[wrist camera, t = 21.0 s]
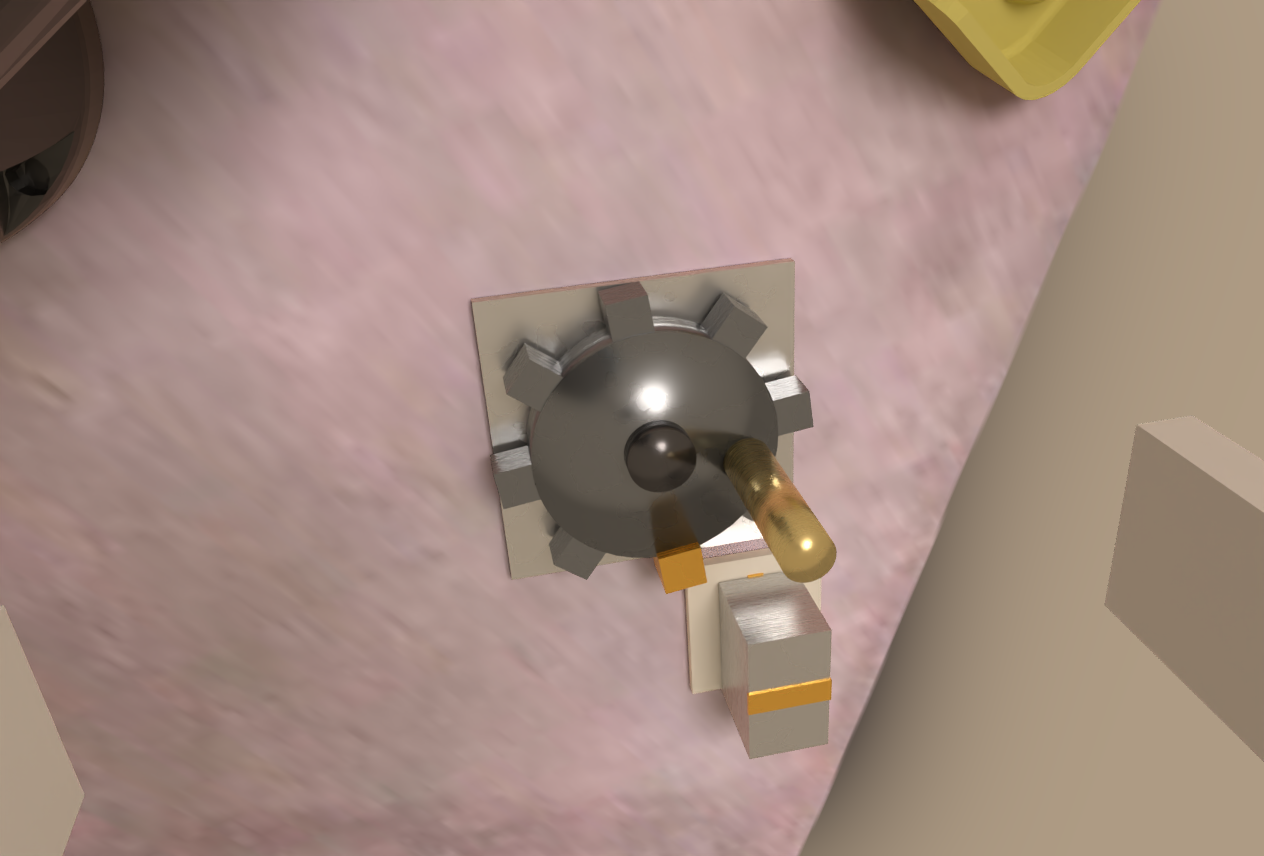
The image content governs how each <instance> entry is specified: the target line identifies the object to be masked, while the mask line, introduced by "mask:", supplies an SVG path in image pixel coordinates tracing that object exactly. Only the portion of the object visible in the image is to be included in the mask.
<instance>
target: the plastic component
mask: <svg viewBox="0 0 1264 856" xmlns="http://www.w3.org/2000/svg"><path fill="white" fill-rule="evenodd" d="M913 1H914V2H915V3H916V4H917V5H918V6H919V7H920V8H921V9H922V10H923V11H924V13H925V14H926V15H927V16H928V17H929V18H930V19H931V21H932V22H933V23H934V24H935V25H936V26H937V28H938V29H939V30H940V31H941V32H942V33H943V34H944V36H945V37H946V38H947V39H948V40H949V41H950V42H951V44H952V45H953V46H954V47H955V48H956V49H957V51H958V52H959V53H960V54H961V55H962V56H963V57H964V59H965V60H966V61H967V62H968V63H969V64H970V65H971V66H972V67H973V68H975V69H976V70H978V71H979V72H981V73H982V74H984V75H985V76H987V77H988V78H990V79H991V80H993V81H995V82H996V83H998V84H999V85H1001V86H1002V87H1004V88H1005V89H1007V90H1008V91H1010V92H1011V93H1013V94H1014V95H1016V96H1018V97H1020V98H1022V99H1024V100H1036V99H1039V98H1042V97H1046V96H1048V95H1049V94H1051V93H1053V92H1055V91H1057V90H1058V89H1059V88H1061V87H1062V86H1064V85H1065V84H1066V83H1067V82H1068V81H1069V80H1071V79H1072V78H1073V77H1074V76H1075V75H1076V74H1077V73H1078V72H1079V71H1080V70H1081V68H1082V67H1083V66H1084V65H1085V64H1086V63H1087V62H1088V60H1089V59H1090V58H1091V57H1092V56H1093V55H1094V54H1095V52H1096V51H1097V50H1098V49H1099V48H1100V47H1101V45H1102V44H1103V43H1104V42H1105V41H1106V40H1107V39H1108V37H1109V36H1110V35H1111V34H1112V33H1113V32H1114V31H1115V29H1116V28H1117V27H1118V26H1119V25H1120V24H1121V23H1122V21H1123V20H1124V19H1125V18H1126V17H1127V16H1128V15H1129V13H1130V12H1131V11H1132V10H1133V9H1134V8H1135V6H1136V5H1137V4H1138V3H1139V2H1140V1H1141V0H913Z"/></svg>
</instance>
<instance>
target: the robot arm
mask: <svg viewBox="0 0 1264 856" xmlns="http://www.w3.org/2000/svg"><path fill="white" fill-rule="evenodd" d="M103 92H104V66H103V56H102V48H101V42H100V36H99V32H98V28H97V24H96V19H95V16H94V13H93V10H92V6H91V3H90V0H0V243H2V242H4V241H5V240H7V239H9V238H10V237H12V236H14V235H15V234H16V233H18V232H19V231H21V230H22V229H23V228H25V227H26V226H27V225H29V224H30V223H31V222H32V221H34V220H35V219H36V218H37V217H39V216H40V215H41V214H42V213H43V212H45V211H46V210H47V209H48V208H49V207H50V206H52V205H53V204H54V203H55V202H56V201H57V200H58V199H59V198H60V196H61V195H62V194H63V193H64V192H65V191H66V189H67V188H68V187H69V186H70V185H71V183H72V182H73V180H74V179H75V177H76V176H77V174H78V173H79V171H80V170H81V168H82V166H83V164H84V162H85V160H86V159H87V156H88V154H89V152H90V149H91V147H92V145H93V142H94V139H95V136H96V133H97V129H98V125H99V121H100V117H101V110H102V103H103ZM1105 606H1106V607H1107V608H1108V609H1109V610H1110V611H1111V612H1112V613H1113V614H1114V615H1115V616H1116V617H1117V618H1118V619H1119V620H1121V622H1122V623H1123V624H1124V625H1125V626H1126V627H1127V628H1129V630H1130V631H1132V632H1133V634H1135V635H1136V636H1137V637H1138V638H1139V639H1140V640H1141V641H1142V642H1143V643H1144V644H1145V645H1146V646H1147V647H1148V648H1149V649H1150V650H1151V651H1152V652H1153V653H1154V654H1155V655H1156V656H1157V657H1158V658H1159V659H1160V660H1161V661H1162V662H1163V663H1164V664H1165V665H1166V666H1167V667H1168V668H1169V669H1170V670H1171V671H1172V672H1173V673H1174V674H1175V675H1176V676H1177V677H1178V678H1179V679H1180V680H1181V681H1182V682H1183V683H1184V684H1185V685H1186V686H1187V687H1188V688H1189V689H1190V690H1191V691H1192V692H1194V694H1195V695H1197V697H1198V698H1200V699H1201V700H1202V701H1203V702H1204V703H1205V704H1206V705H1207V706H1208V707H1209V708H1210V709H1211V710H1212V711H1213V712H1214V713H1215V714H1216V715H1217V716H1218V717H1219V718H1220V719H1221V720H1222V721H1223V722H1224V723H1225V724H1226V725H1227V726H1228V727H1229V728H1230V729H1231V730H1232V731H1233V732H1234V733H1235V734H1236V735H1237V736H1238V737H1239V738H1240V739H1241V740H1242V741H1243V742H1244V743H1245V744H1246V745H1247V746H1248V747H1249V748H1250V749H1251V750H1252V751H1253V752H1254V753H1255V754H1256V755H1257V756H1258V757H1259V758H1260V759H1261V760H1262V761H1263V762H1264V460H1262V459H1260V458H1259V457H1257V456H1256V455H1254V454H1252V453H1251V452H1249V451H1248V450H1246V449H1244V448H1243V447H1241V446H1240V445H1238V444H1237V443H1235V442H1233V441H1232V440H1230V439H1229V438H1227V437H1226V436H1224V435H1223V434H1221V433H1219V432H1218V431H1216V430H1214V429H1213V428H1211V427H1210V426H1208V425H1207V424H1205V423H1204V422H1202V421H1200V420H1199V419H1197V418H1196V417H1194V416H1186V417H1180V418H1173V419H1167V420H1161V421H1155V422H1148V423H1142V424H1137V426H1136V431H1135V437H1134V442H1133V448H1132V453H1131V459H1130V465H1129V470H1128V476H1127V481H1126V487H1125V493H1124V498H1123V504H1122V510H1121V515H1120V521H1119V526H1118V532H1117V538H1116V543H1115V549H1114V555H1113V560H1112V566H1111V572H1110V578H1109V583H1108V589H1107V594H1106V600H1105ZM84 796H85V795H84V792H83V790H82V788H81V785H80V783H79V781H78V778H77V776H76V774H75V771H74V769H73V766H72V764H71V762H70V759H69V757H68V755H67V752H66V750H65V748H64V745H63V743H62V741H61V738H60V736H59V734H58V731H57V729H56V726H55V724H54V722H53V719H52V717H51V715H50V712H49V710H48V708H47V705H46V703H45V701H44V698H43V696H42V694H41V691H40V689H39V686H38V684H37V682H36V679H35V677H34V675H33V672H32V670H31V668H30V665H29V663H28V661H27V658H26V656H25V654H24V651H23V649H22V646H21V644H20V642H19V639H18V637H17V635H16V632H15V630H14V628H13V625H12V623H11V621H10V618H9V616H8V614H7V611H6V609H5V606H4V605H3V606H0V856H63V853H64V850H65V847H66V845H67V842H68V839H69V836H70V834H71V831H72V828H73V826H74V823H75V820H76V817H77V815H78V812H79V809H80V806H81V804H82V801H83V798H84Z"/></svg>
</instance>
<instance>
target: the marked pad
mask: <svg viewBox="0 0 1264 856" xmlns="http://www.w3.org/2000/svg"><path fill="white" fill-rule="evenodd" d="M703 562H704V567H705V573H706V578H707V583H704V584H700V585H697V586H693V587H690V588H686V589H685V598H686V618H687V637H688V656H689V675H690V688H691V690H692V693H693V694H696V693H701V692H707V691H712V690H717V689H722V679H721V645H720V611H719V583H720V582H726V581H732V580H738V579H743V578H749V577H755V576H761V575H767V574H773V573H779V572H783V571H782V569H781V568H780V566H779V564H778V562H777V561H776V559H775V557H774V556H773V554H772V552H771V550H770V549H769V548H764V549H759V550H753V551H747V552H741V553H735V554H729V555H723V556H717V557H711V558H705V559H703ZM804 585H805V586H806V588H807V590H808V592H809V593H810V595H811V597H812V598H813V600H814V602H815V603H816V605H817V607H818V608H819V610H820V612H821V578H819V579H817V580H815V581H812V582H807V583H804Z"/></svg>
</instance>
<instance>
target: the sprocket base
mask: <svg viewBox="0 0 1264 856" xmlns="http://www.w3.org/2000/svg"><path fill="white" fill-rule="evenodd" d="M637 281H639V282H640V283H641V285H642V286H643V288H644V289H645V291H646V293H647V294H648V298H649V303H650V308H651V314H652V316H665V317H676V318H681V319H686V320H691V321H694V322H696V323H699V324H702V322H703V321H704V319H705V318H706V317H707V315H708V314H709V312H710V311H711V309H712V308H713V306H714V305H715V304H716V302H717V301H718V299H719V298H720V296H721V295H722V293H725V294H726V295H728V296H729V297H731V298H733V299H734V300H736V301H737V302H739V303H741V304H742V305H744V306H745V307H747V308H749V309H750V310H752V311H754V312H755V313H756V314H757V315H758V316H759V317H760V319H761V320H762V321H763V322H764V323H765V324H766V325H767V326H768V328H767V329H766V330H765V332H764V333H763V334H762V336H761V337H760V339H759V340H758V341H757V343H756V344H755V346H754V347H753V348H752V350H751V351H750V353H749V354H748V355H747V357H746V359H747V360H748V361H749V362H750V364H751V365H752V366H753V368H754V369H755V370H756V372H757V373H758V374H759V375H760V377H761V378H762V379H763V381H764V383H768V382H771V381H775V380H779V379H783V378H787V377H790V376H794V283H795V261H794V260H792V259H791V258H788V259H780V260H772V261H764V262H756V263H748V264H741V265H733V266H725V267H717V268H709V269H701V270H694V271H686V272H678V273H670V274H662V275H654V276H647V277H639V278H631V279H623V280H615V281H607V282H600V283H592V284H584V285H576V286H568V287H560V288H553V289H545V290H537V291H529V292H521V293H513V294H506V295H498V296H490V297H482V298H474V299H471V302H472V309H473V316H474V323H475V329H476V336H477V343H478V350H479V357H480V364H481V371H482V378H483V385H484V391H485V398H486V405H487V412H488V419H489V426H490V433H491V440H492V447H493V454H497V453H501V452H504V451H508V450H512V449H516V448H520V447H523V446H527V425H528V417H529V413H530V410H531V407H530V406H528V405H526V404H524V403H522V402H520V401H518V400H516V399H514V398H512V397H510V396H508V395H506V390H505V386H504V381H503V376H504V375H505V373H506V371H507V370H508V368H509V367H510V365H511V364H512V362H513V361H514V359H515V357H516V356H517V354H518V353H519V351H520V350H521V348H522V347H523V345H524V343H526V344H527V345H529V346H531V347H533V348H535V349H537V350H538V351H540V352H542V353H544V354H546V355H548V356H549V357H551V358H553V359H555V360H557V361H558V360H559V359H560V358H561V357H562V356H563V355H564V354H565V353H566V352H567V351H568V350H569V349H570V348H572V347H573V346H574V345H575V344H577V343H578V342H579V341H580V340H582V339H584V338H585V337H587V336H589V335H590V334H592V333H594V332H595V331H598V330H600V329H602V328H604V327H605V323H604V318H603V314H602V309H601V304H600V300H599V295H598V291H601V290H605V289H609V288H613V287H617V286H621V285H625V284H629V283H633V282H637ZM793 438H794V432H792V433H788V434H784V435H780V436H778V446H777V452H776V457H775V458H776V459H777V461H778V462H779V464H780V465H781V467H782V468H783V470H784V471H785V473H786V474H787V475H788V477H789V478H790V480H791V481H792V483H793ZM500 502H501V499H500ZM501 509H502V516H503V522H504V529H505V536H506V543H507V550H508V557H509V564H510V571H511V577H512V580H514V579H520V578H526V577H532V576H538V575H544V574H550V573H556V572H562V571H566V570H564V569H562V568H559V567H557V566H555V565H554V564H553V560H552V555H551V551H550V547H549V543H550V541H551V540H552V538H553V537H554V535H555V534H556V532H557V531H558V530H559V528H560V526H559V525H558V524H557V523H556V522H555V521H554V519H553V518H552V517H551V515H550V514H549V512H548V511H547V510H546V508H545V506H544V504H543V502H542V501H541V500H537V501H533V502H530V503H526V504H522V505H518V506H515V507H511V508H507V509H503V506H502V502H501ZM759 538H763V536H762V535H761V533H760V531H759V529H758V528H757V526H756V524H755V523H754V522H753V521H751V520H749V519H747V518H745V517H743V516H741V517H740V518H739V519H738V520H737V521H736V522H735V523H734V524H733V525H731V526H730V527H729V528H727V529H726V530H725V531H723V532H722V533H721V534H719V535H717V536H716V537H714V538H712V539H710V540H709V541H707V542H705V543H703V544H701V545H700V547H701V548H705V547H711V546H717V545H723V544H729V543H735V542H741V541H747V540H753V539H759ZM633 559H639V558H631V557H623V556H616V555H612V554H609V553H606V554H605V555H604V556H603V558H602V559H601V561H600V562H599V563H598V565H604V564H610V563H616V562H622V561H628V560H633ZM598 565H597V566H598Z"/></svg>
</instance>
